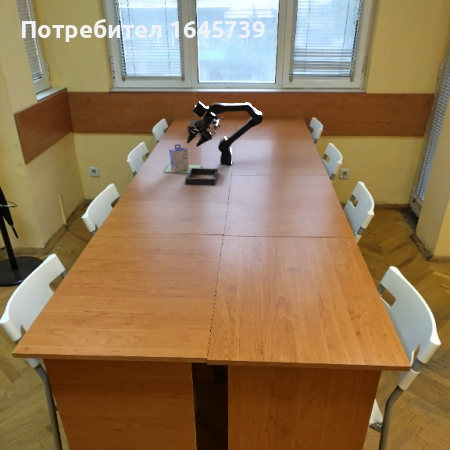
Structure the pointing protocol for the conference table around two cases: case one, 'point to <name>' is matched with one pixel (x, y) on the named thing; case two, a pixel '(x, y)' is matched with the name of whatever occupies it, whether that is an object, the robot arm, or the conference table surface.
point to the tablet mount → (215, 123)
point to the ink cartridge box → (179, 159)
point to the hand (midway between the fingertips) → (191, 144)
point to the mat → (168, 170)
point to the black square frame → (201, 180)
